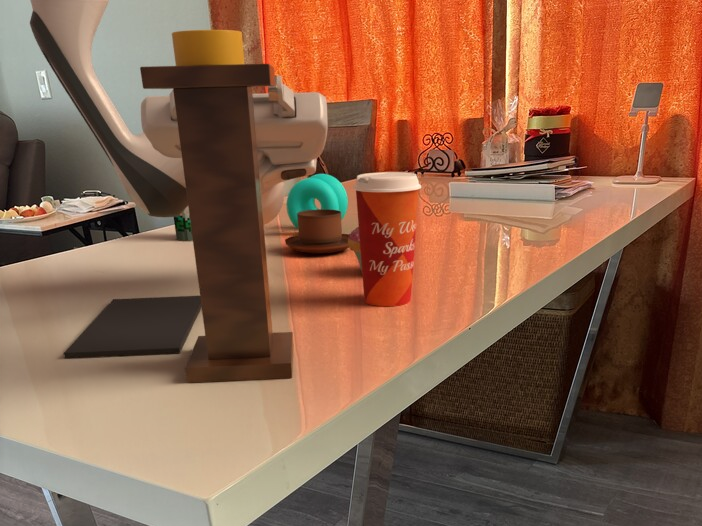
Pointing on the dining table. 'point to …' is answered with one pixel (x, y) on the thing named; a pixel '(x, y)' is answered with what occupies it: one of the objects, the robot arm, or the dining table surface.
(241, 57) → the scoop
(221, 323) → the stand
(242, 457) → the dining table surface
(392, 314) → the dining table surface
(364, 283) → the coffee cup
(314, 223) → the cup and saucer
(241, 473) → the dining table surface
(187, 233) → the can
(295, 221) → the donuts
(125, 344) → the mat
